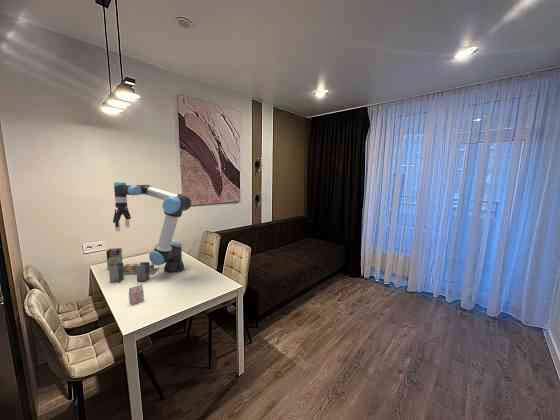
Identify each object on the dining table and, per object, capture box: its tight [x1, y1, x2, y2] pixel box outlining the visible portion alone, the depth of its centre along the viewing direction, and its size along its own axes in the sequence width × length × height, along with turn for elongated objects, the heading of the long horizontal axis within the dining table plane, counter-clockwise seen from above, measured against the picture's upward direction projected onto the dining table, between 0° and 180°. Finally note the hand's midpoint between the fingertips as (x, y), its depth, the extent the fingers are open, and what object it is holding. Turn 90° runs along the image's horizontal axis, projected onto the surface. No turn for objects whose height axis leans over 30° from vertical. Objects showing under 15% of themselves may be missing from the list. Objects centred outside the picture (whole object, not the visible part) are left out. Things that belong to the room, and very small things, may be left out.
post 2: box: [136, 261, 151, 283], centre depth 165 cm, size 6×7×12 cm
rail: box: [123, 262, 155, 272], centre depth 180 cm, size 24×5×5 cm, turn 98°
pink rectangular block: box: [128, 283, 145, 306], centre depth 137 cm, size 4×7×10 cm, turn 142°
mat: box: [123, 267, 160, 276], centre depth 180 cm, size 30×11×1 cm, turn 98°
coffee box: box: [105, 247, 123, 268], centre depth 184 cm, size 9×6×16 cm
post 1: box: [107, 262, 125, 284], centre depth 163 cm, size 6×7×12 cm
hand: (122, 229), depth 176 cm, fingers open, 13 cm apart
